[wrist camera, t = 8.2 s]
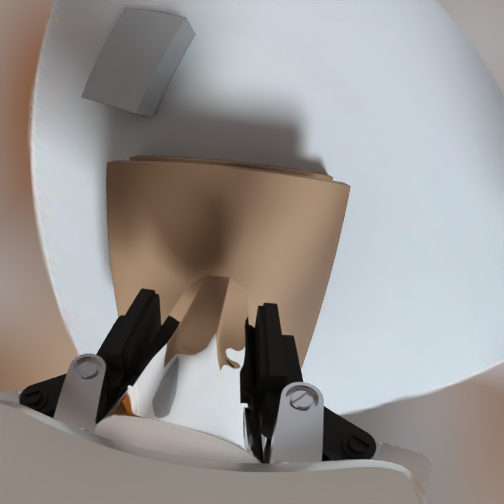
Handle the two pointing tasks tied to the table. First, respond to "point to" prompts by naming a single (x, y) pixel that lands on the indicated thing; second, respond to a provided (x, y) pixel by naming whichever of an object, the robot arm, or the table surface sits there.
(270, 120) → the table surface
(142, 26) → the block
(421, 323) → the table surface
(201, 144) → the table surface
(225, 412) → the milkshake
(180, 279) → the stand
